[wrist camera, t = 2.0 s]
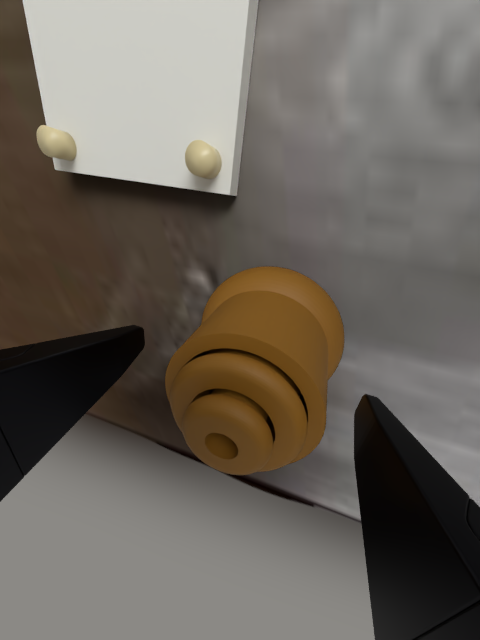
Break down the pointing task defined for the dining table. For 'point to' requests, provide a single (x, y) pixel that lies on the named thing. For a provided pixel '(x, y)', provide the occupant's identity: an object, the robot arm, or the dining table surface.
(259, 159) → the dining table surface
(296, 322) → the ornamental finial
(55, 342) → the robot arm
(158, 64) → the base plate
